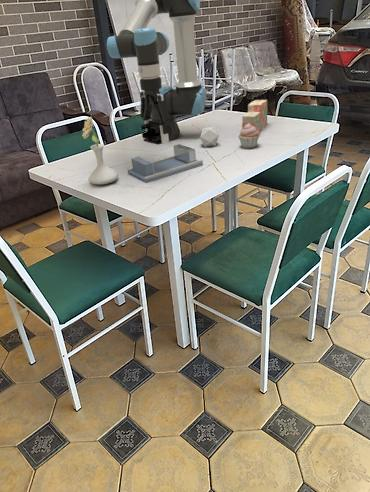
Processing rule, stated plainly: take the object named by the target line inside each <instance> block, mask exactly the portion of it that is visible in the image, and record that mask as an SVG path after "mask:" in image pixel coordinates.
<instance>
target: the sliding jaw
mask: <svg viewBox="0 0 370 492" xmlns="http://www.w3.org/2000/svg"><path fill="white" fill-rule="evenodd" d="M173 154H174V155H173V156H175V158H176V159H179V160H182V161H184V162H187V163H192V162H195V161H196V160H197V156H196V154H197V152H196V149H195V148H192V147H190V146H187V145H183V144H180V143H179V144H176V145H173Z"/></svg>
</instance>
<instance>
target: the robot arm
mask: <svg viewBox="0 0 370 492" xmlns="http://www.w3.org/2000/svg"><path fill="white" fill-rule="evenodd" d="M200 8H201V0H135V4H134V8H133V10H132V11H131V13H130V15H128V18H127V20H126V21H125V23H124V25H123V27H122V28H121V29H120V31H119V33H118V34H117V35H114V34H113V35H112V36H109V37H108V38H107V40H106V49H107V52H108V55H109V57H110V58H112V59H127V58H136V61H137V71H138V74H139V75H138V76H139V78H140V79H139V86H140V89H141V91H140V92H139V95H140V96H139V97H140V118H141V119H143V121H144V124H147V123H149V122H148V121H156V122H160V123H161V124H160V133H161V141H162V144H166V143H169V142H171V141H175V140H177V139H180V137H181V136H182V135H181V130H180V127H179V125H178V122H177V120H176V116H196V115H201V114H202V113H204V109H205V108H206V103H207V101H206V99H207V92H206V88H204V87H202V83H201V82H200V81H199V80H198V69H197V68H198V67H197V55H196V53H197V52H196V39H195V27H194V25H195V24H194V23H195V22H194V20H195V18H196V17H197V11H199V10H200ZM161 14H162V15H163V14H168V17H169V20H170V21H172V22H173V33H174V34H173V35H174V47H175V56H176V57H175V58H176V65H177V67H176V68H177V77H178V82H177V83H176V84H175V89H174V87H173V86H172V85H164V86H163V85H162V83H163V82H162V78H161V77H160V76H161V73H162V72H161V66H160V57H159V56H162V55H164V54H165V53H166V52H167V51H169V50H168V49H169V47H170V40H169V37H168V36H167V35H166V34H165V33H164V32H161V31H157V30H156V28H154V27H148V26H149V24H150V22H151V20H152V19H154V18H155V17H156V16H157V15H161ZM167 124H169V125H170V126H171V128H172V135H171V137H170V138H169V137H168V127H167ZM147 131H148V129H145V132H147Z"/></svg>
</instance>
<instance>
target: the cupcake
mask: <svg viewBox="0 0 370 492" xmlns="http://www.w3.org/2000/svg"><path fill="white" fill-rule="evenodd" d="M260 136H261V134H259V133H258V130H256V128H255V127H254V126H252V125H250V123H248V124H247V125H245V126H244V128H243V129H241V130H240V131H239V135H238V139H239V142H240V145H241V147H242V149H253V148H256V147H257V146H258V141H259V138H260Z"/></svg>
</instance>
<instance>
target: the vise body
mask: <svg viewBox="0 0 370 492" xmlns="http://www.w3.org/2000/svg"><path fill="white" fill-rule="evenodd" d="M130 160H131V165H132V167H130V168H128V169H127V172H128V175H129V176H131V177H133V178H135V179H137V180H140V181H141V182H143V183H145V184H148V183H151V182H154V181H157V180H160V179H163V178H166V177H169V176H173V175H175V174H178V173H183V172H186V171H188V170H192V169H195V168H198V167H201V166H203V165H204V163H203V162H204V161H203V159H199V160H198V159H196V161H195V162H192V163H187V162H184V161H182V160H179V159H176V158H175V156H174V155H172V156H167V157H164V158H161V159H157V160H154V161H149V160H148V159H147V160H146V159H144V158H142V157H140V156H136V157H132V158H130Z"/></svg>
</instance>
